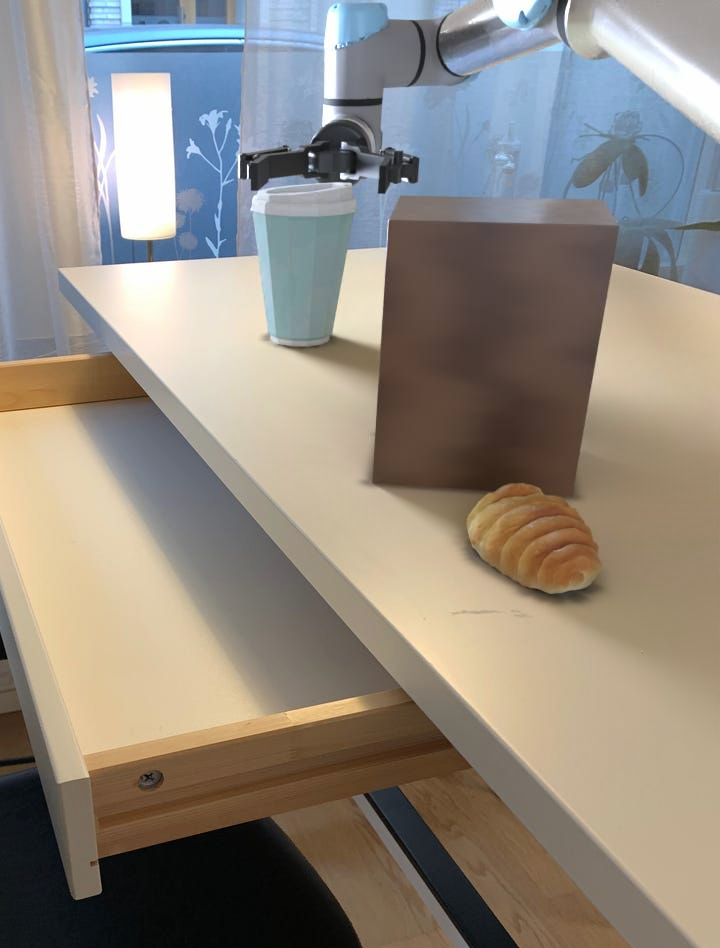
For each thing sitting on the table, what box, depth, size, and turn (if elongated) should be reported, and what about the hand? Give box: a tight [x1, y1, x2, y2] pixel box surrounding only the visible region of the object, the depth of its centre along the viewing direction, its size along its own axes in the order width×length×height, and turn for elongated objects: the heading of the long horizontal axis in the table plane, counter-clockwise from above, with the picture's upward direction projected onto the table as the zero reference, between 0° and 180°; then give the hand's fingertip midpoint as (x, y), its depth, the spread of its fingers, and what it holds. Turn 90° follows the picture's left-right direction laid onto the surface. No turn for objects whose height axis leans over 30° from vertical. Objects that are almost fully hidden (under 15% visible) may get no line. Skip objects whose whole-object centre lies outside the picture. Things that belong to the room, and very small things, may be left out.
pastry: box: [466, 483, 603, 595], centre depth 62 cm, size 9×7×4 cm
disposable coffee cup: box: [250, 182, 358, 348], centre depth 103 cm, size 11×11×15 cm
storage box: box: [371, 195, 620, 498], centre depth 78 cm, size 14×24×18 cm, turn 168°
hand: (317, 178), depth 107 cm, fingers open, 13 cm apart
